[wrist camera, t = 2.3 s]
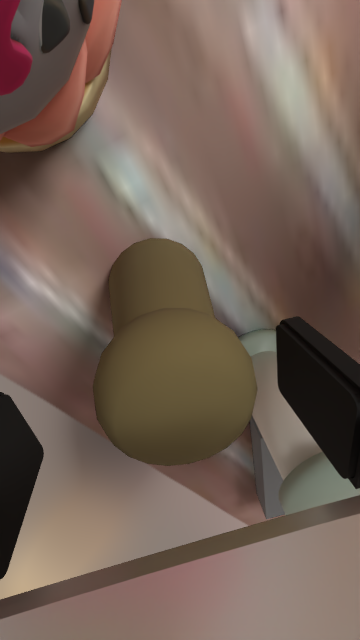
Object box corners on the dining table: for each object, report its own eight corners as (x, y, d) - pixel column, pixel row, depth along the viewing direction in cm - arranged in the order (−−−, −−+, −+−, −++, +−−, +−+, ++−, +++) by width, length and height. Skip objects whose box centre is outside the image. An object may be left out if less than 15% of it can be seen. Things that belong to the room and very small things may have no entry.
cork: (208, 321, 19) (282, 474, 9) (120, 336, 18) (100, 512, 9) (201, 230, 16) (299, 313, 6) (97, 246, 16) (29, 358, 6)
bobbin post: (298, 320, 20) (426, 435, 11) (296, 387, 23) (396, 519, 14) (211, 340, 20) (271, 474, 11) (221, 405, 23) (275, 550, 14)
